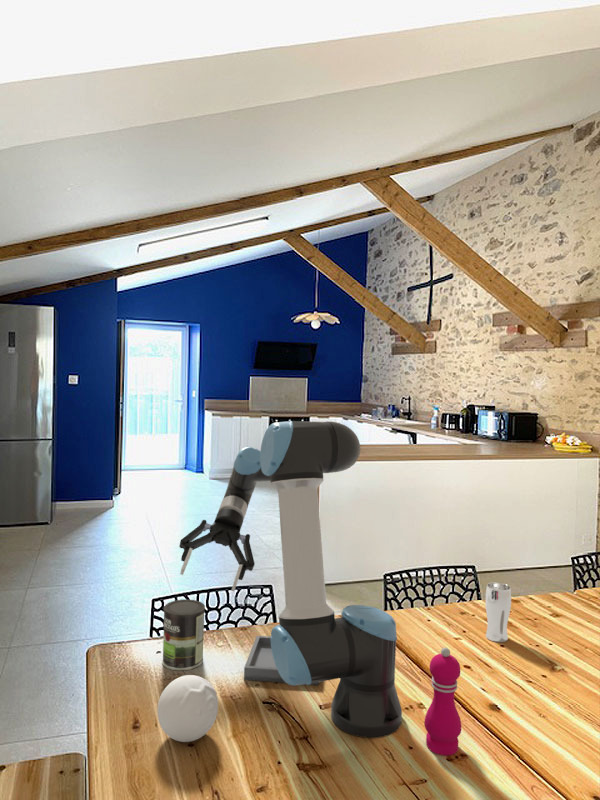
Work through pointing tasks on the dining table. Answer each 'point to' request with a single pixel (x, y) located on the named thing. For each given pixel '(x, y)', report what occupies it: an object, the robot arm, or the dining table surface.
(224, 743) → the dining table surface
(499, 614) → the beer glass
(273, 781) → the dining table surface
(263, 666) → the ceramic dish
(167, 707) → the decorative ball
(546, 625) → the dining table surface
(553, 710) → the dining table surface
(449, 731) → the pepper mill
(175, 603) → the coffee can
